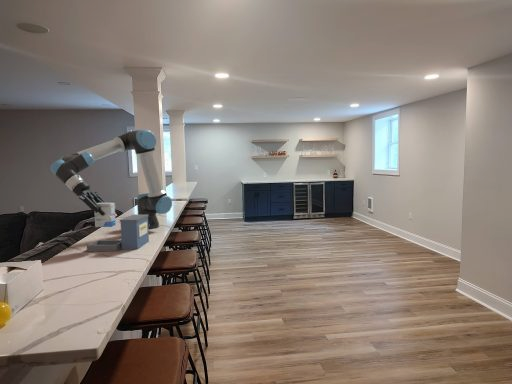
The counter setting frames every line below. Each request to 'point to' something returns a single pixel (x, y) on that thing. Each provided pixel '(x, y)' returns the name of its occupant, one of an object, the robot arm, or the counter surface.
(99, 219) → the ink box
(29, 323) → the counter surface
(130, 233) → the housing unit
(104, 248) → the tray
